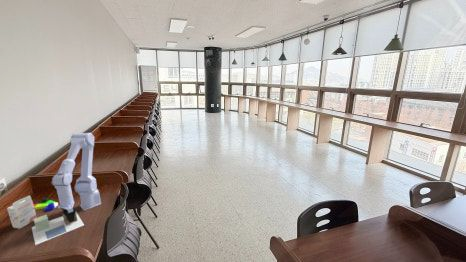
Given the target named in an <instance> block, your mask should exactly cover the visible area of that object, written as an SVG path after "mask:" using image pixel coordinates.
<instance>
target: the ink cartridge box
mask: <svg viewBox="0 0 466 262" xmlns="http://www.w3.org/2000/svg"><path fill="white" fill-rule="evenodd" d="M33 204H34V201H33V200H32V197H31V195H27V196H25V197H22V198H20V199H18V200H16V201H14V202H13V203H12V205H10V206H9V207H7V208H6V210H7V213H8V215H9V219H10V223H11V225H12V228H14V229H21V228H23V227H25V226H26V225H28V224H29V225H30V223H32V222H34V219H35V218H38V216H37V214H36V210H35V209H34V205H33Z"/></svg>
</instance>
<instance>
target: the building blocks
mask: <svg viewBox="0 0 466 262" xmlns="http://www.w3.org/2000/svg"><path fill="white" fill-rule="evenodd" d="M33 205H34V209H35V211H38V210H43V211H44V212H47V211H53V210H55V208H57V206H58V205H59V203H58V202H56V201H55V200H53V199H50V198H48V197H43V198H42V199H41V201H39V202H38V203H35V204H34V203H33Z"/></svg>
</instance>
